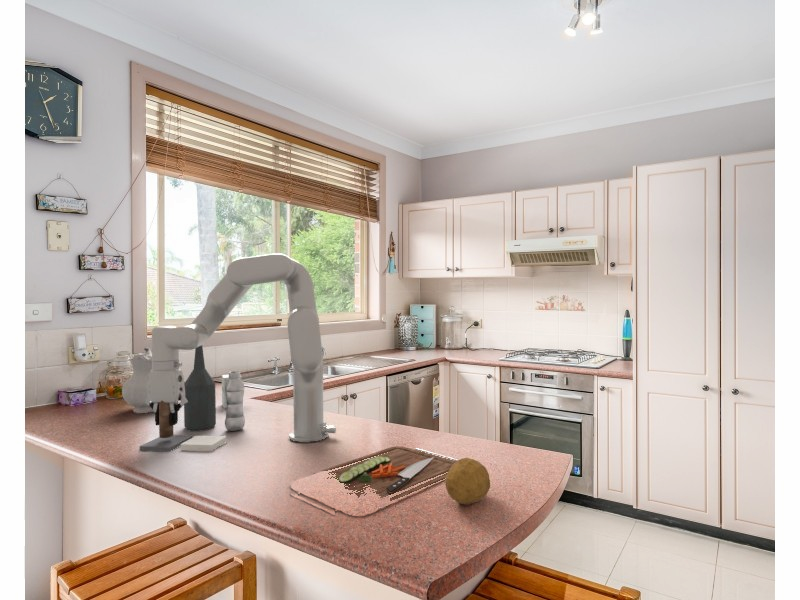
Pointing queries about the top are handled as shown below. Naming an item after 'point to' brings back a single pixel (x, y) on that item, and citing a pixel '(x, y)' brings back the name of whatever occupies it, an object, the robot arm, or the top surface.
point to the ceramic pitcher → (138, 382)
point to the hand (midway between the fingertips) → (166, 423)
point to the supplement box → (224, 382)
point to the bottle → (199, 396)
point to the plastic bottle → (234, 402)
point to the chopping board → (393, 471)
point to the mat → (165, 443)
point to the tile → (203, 443)
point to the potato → (467, 481)
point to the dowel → (164, 420)
